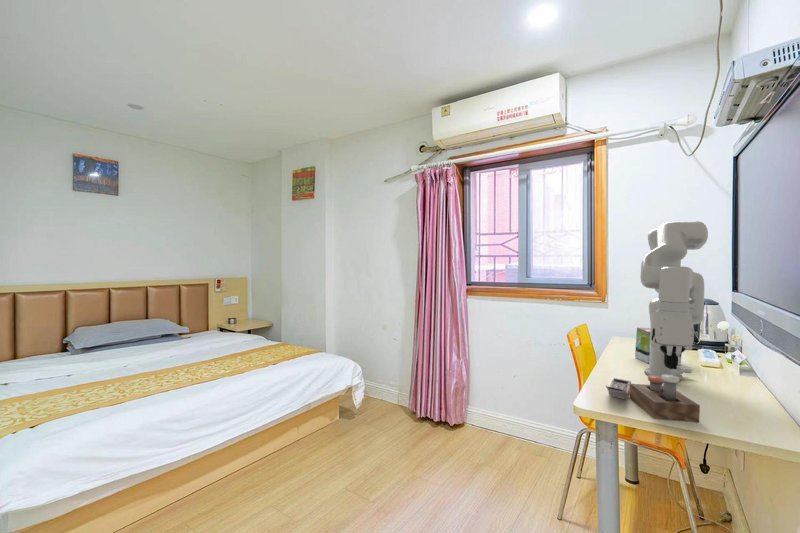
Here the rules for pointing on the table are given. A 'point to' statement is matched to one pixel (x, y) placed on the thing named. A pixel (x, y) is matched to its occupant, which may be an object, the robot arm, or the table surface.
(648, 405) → the block
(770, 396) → the table surface
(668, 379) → the white light bulb
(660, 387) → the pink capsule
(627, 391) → the mobile phone
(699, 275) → the robot arm
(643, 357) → the tea box
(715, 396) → the table surface
